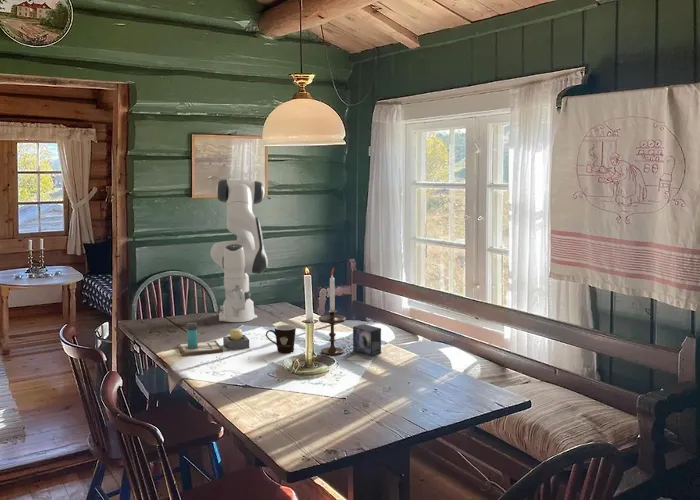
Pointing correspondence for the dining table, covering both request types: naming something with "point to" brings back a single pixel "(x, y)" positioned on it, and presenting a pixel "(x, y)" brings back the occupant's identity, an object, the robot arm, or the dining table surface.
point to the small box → (367, 339)
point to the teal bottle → (192, 335)
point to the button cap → (236, 334)
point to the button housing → (236, 343)
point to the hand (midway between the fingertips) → (235, 316)
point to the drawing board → (200, 348)
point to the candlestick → (332, 322)
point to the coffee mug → (284, 338)
